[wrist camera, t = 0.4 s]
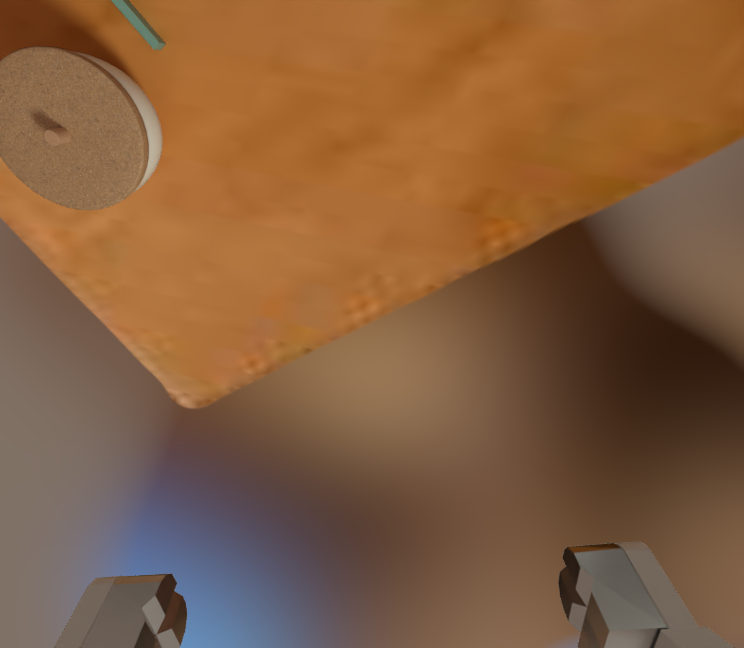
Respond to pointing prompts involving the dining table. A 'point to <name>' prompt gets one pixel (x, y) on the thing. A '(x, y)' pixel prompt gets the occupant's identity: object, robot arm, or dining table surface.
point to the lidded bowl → (76, 127)
